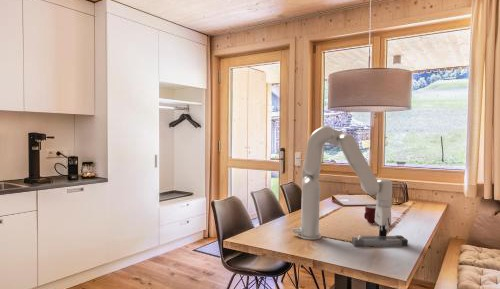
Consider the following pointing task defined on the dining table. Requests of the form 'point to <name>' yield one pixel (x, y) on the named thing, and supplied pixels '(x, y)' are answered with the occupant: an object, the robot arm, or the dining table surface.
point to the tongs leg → (383, 236)
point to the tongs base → (379, 242)
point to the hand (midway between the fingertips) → (382, 237)
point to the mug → (370, 213)
